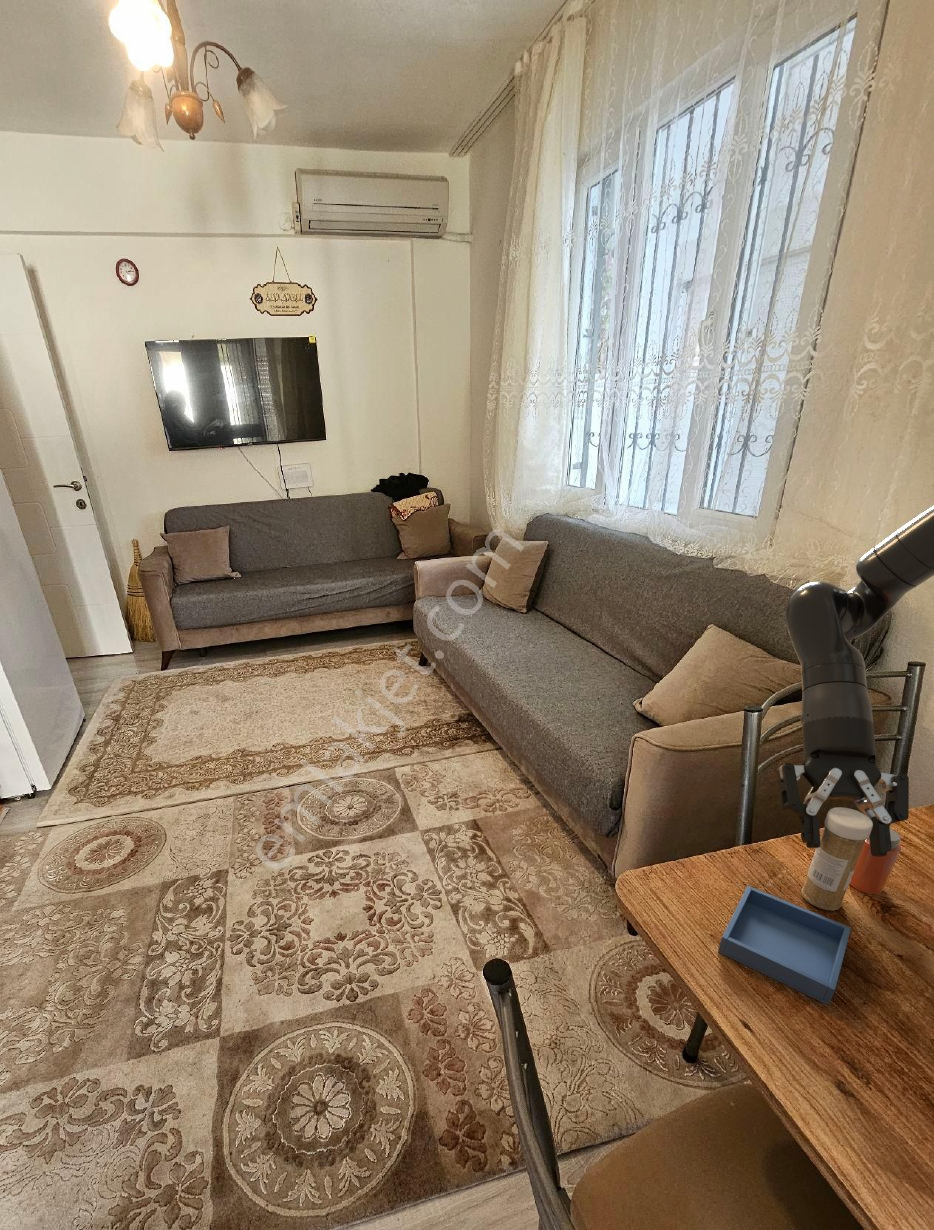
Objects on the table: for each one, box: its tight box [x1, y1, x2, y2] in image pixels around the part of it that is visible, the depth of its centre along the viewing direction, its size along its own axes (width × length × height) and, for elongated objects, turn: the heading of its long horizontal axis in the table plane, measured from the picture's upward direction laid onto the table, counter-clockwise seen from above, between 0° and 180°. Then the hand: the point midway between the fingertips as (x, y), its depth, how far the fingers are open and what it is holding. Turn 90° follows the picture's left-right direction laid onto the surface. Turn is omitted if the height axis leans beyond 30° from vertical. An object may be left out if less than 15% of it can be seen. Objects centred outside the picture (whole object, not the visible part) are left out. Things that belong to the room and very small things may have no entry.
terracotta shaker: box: [849, 828, 902, 895], centre depth 77 cm, size 4×4×9 cm
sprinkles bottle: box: [800, 806, 873, 912], centre depth 74 cm, size 5×5×13 cm
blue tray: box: [717, 885, 852, 1006], centre depth 69 cm, size 11×11×2 cm
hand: (846, 851), depth 71 cm, fingers open, 6 cm apart
